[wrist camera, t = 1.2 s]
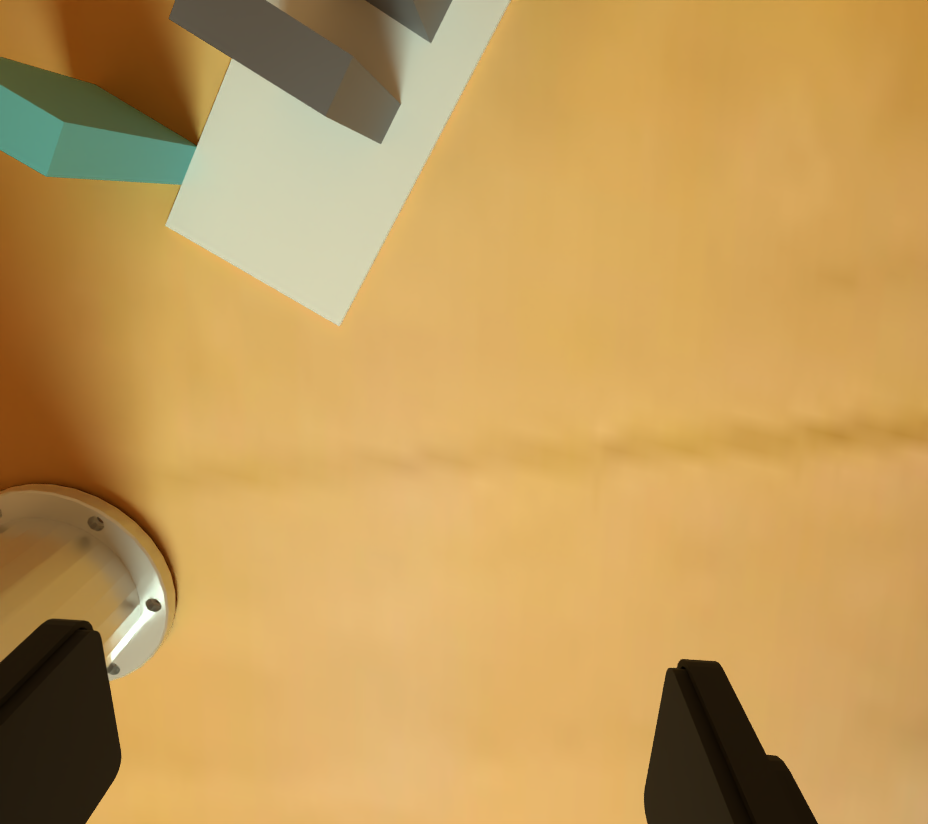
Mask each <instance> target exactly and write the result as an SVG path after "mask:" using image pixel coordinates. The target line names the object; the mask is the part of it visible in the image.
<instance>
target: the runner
mask: <svg viewBox="0 0 928 824" xmlns="http://www.w3.org/2000/svg"><path fill="white" fill-rule="evenodd" d="M266 1H268V2H269V3H271V4H273V5H274V6H276V7H277V8H279V9H280V10H282V11H283V12H285V13H287V14H288V15H290V16H291V17H293V18H294V19H296V20H298V21H299V22H301V23H302V24H304V25H305V26H307V27H308V28H310V29H312V30H313V31H315V32H316V33H318V34H319V35H321V36H322V37H324V38H326V39H327V40H329V41H330V42H332V43H333V44H335V45H337V46H338V47H340V48H341V49H343V50H344V51H346V52H347V53H349V54H351V55H352V56H354V57H355V59H356V60H357V61H358V62H359V63H360V64H361V65H362V66H363V67H364V68H365V69H366V70H367V71H368V72H369V73H370V74H371V75H372V76H373V77H374V78H375V79H376V80H377V81H378V82H379V83H380V84H381V85H382V86H383V87H384V88H385V89H386V90H387V91H388V92H389V93H390V94H391V95H392V96H393V97H394V98H395V99H396V100H397V101H398V102H399V103H400V104H401V105H400V107H399V109H398V111H397V113H396V115H395V117H394V119H393V121H392V123H391V125H390V127H389V129H388V131H387V133H386V135H385V137H384V139H383V142H382V144H379V143H377V142H375V141H373V140H371V139H369V138H367V137H365V136H363V135H361V134H359V133H357V132H355V131H353V130H351V129H349V128H347V127H345V126H343V125H341V124H339V123H337V122H335V121H333V120H331V119H329V118H327V117H325V116H324V115H322V114H321V113H319V112H317V111H316V110H314V109H312V108H311V107H309V106H308V105H306V104H304V103H303V102H301V101H300V100H298V99H296V98H295V97H293V96H292V95H290V94H288V93H287V92H285V91H284V90H282V89H280V88H279V87H277V86H276V85H274V84H272V83H271V82H269V81H268V80H266V79H264V78H263V77H261V76H260V75H258V74H256V73H255V72H253V71H252V70H250V69H248V68H247V67H245V66H243V65H242V64H240V63H239V62H237V61H235V60H234V59H232V60H231V62H230V65H229V67H228V70H227V72H226V75H225V77H224V80H223V82H222V85H221V87H220V90H219V92H218V95H217V97H216V100H215V102H214V105H213V107H212V110H211V112H210V115H209V117H208V120H207V122H206V125H205V127H204V130H203V132H202V135H201V137H200V140H199V142H198V145H197V147H196V150H195V152H194V155H193V157H192V160H191V162H190V165H189V167H188V170H187V172H186V175H185V177H184V180H183V182H182V185H181V187H180V190H179V192H178V195H177V198H176V200H175V203H174V205H173V208H172V210H171V213H170V215H169V218H168V220H167V223H166V225H165V226H167V227H168V228H170V229H172V230H174V231H175V232H177V233H179V234H181V235H182V236H184V237H186V238H187V239H189V240H191V241H193V242H194V243H196V244H198V245H200V246H201V247H203V248H205V249H206V250H208V251H210V252H212V253H213V254H215V255H217V256H219V257H220V258H222V259H224V260H225V261H227V262H229V263H231V264H232V265H234V266H236V267H238V268H239V269H241V270H243V271H244V272H246V273H248V274H250V275H251V276H253V277H255V278H257V279H258V280H260V281H262V282H263V283H265V284H267V285H269V286H270V287H272V288H274V289H276V290H277V291H279V292H281V293H283V294H284V295H286V296H288V297H289V298H291V299H293V300H295V301H296V302H298V303H300V304H302V305H303V306H305V307H307V308H308V309H310V310H312V311H314V312H315V313H317V314H319V315H321V316H322V317H324V318H326V319H327V320H329V321H331V322H333V323H334V324H336V325H338V326H340V325H341V324H342V322H343V320H344V318H345V316H346V314H347V312H348V310H349V308H350V306H351V305H352V303H353V301H354V299H355V297H356V295H357V293H358V291H359V289H360V287H361V285H362V284H363V282H364V280H365V278H366V276H367V274H368V272H369V270H370V268H371V266H372V265H373V263H374V261H375V259H376V257H377V255H378V253H379V251H380V249H381V247H382V245H383V244H384V242H385V240H386V238H387V236H388V234H389V232H390V230H391V228H392V226H393V224H394V223H395V221H396V219H397V217H398V215H399V213H400V211H401V209H402V207H403V205H404V203H405V202H406V200H407V198H408V196H409V194H410V192H411V190H412V188H413V186H414V184H415V183H416V181H417V179H418V177H419V175H420V173H421V171H422V169H423V167H424V165H425V163H426V162H427V160H428V158H429V156H430V154H431V152H432V150H433V148H434V146H435V144H436V142H437V141H438V139H439V137H440V135H441V133H442V131H443V129H444V127H445V125H446V123H447V121H448V120H449V118H450V116H451V114H452V112H453V110H454V108H455V106H456V104H457V102H458V101H459V99H460V97H461V95H462V93H463V91H464V89H465V87H466V85H467V83H468V81H469V80H470V78H471V76H472V74H473V72H474V70H475V68H476V66H477V64H478V62H479V60H480V59H481V57H482V55H483V53H484V51H485V49H486V47H487V45H488V43H489V41H490V39H491V38H492V36H493V34H494V32H495V30H496V28H497V26H498V24H499V22H500V20H501V19H502V17H503V15H504V13H505V11H506V9H507V7H508V5H509V3H510V1H511V0H452V2H451V4H450V6H449V8H448V10H447V12H446V14H445V16H444V18H443V20H442V22H441V24H440V26H439V29H438V31H437V33H436V35H435V37H434V39H433V41H432V43H430V42H428V41H426V40H425V39H423V38H422V37H420V36H419V35H417V34H416V33H414V32H413V31H411V30H410V29H408V28H407V27H405V26H404V25H402V24H400V23H399V22H397V21H396V20H394V19H393V18H391V17H390V16H388V15H387V14H385V13H384V12H382V11H381V10H379V9H378V8H376V7H375V6H373V5H371V4H370V3H368V2H367V1H365V0H266Z"/></svg>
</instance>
